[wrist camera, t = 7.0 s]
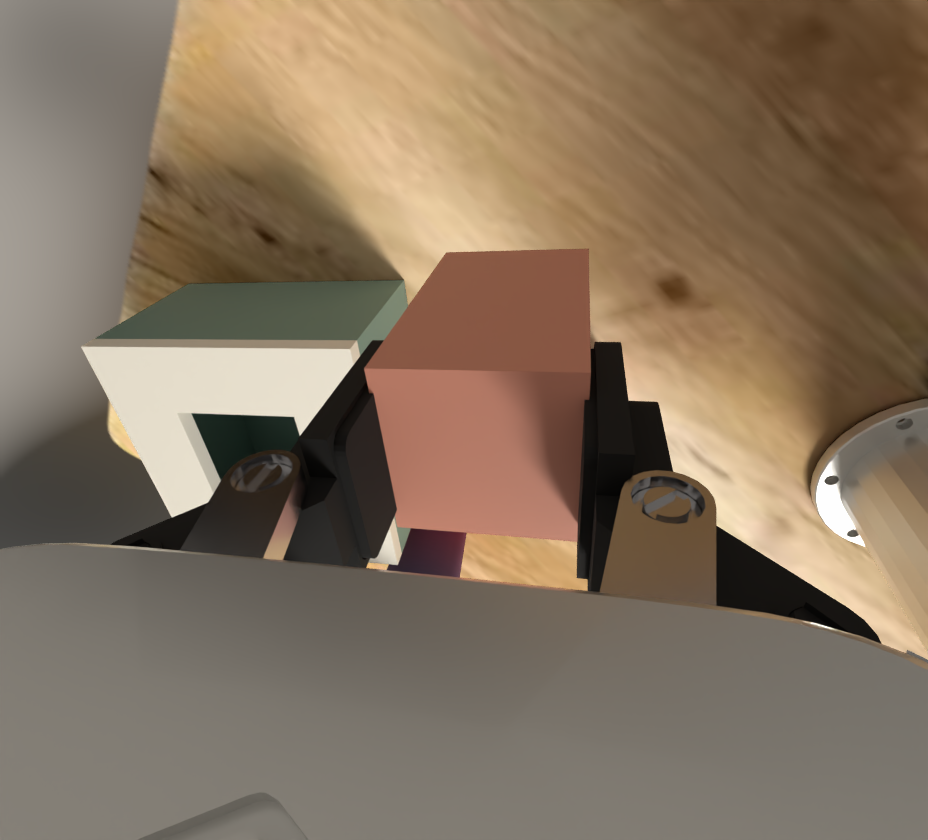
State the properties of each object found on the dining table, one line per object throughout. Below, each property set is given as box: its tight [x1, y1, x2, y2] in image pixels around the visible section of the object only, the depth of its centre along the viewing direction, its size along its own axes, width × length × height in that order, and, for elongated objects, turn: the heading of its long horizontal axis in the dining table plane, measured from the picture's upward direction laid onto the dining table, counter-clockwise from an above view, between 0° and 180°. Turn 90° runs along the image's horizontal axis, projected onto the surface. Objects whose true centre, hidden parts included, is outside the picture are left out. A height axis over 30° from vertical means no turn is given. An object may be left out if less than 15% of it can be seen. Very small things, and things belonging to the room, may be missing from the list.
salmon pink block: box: [364, 249, 591, 542], centre depth 13 cm, size 4×4×7 cm
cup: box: [387, 528, 466, 578], centre depth 41 cm, size 7×7×15 cm
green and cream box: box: [81, 280, 411, 565], centre depth 36 cm, size 16×16×10 cm
